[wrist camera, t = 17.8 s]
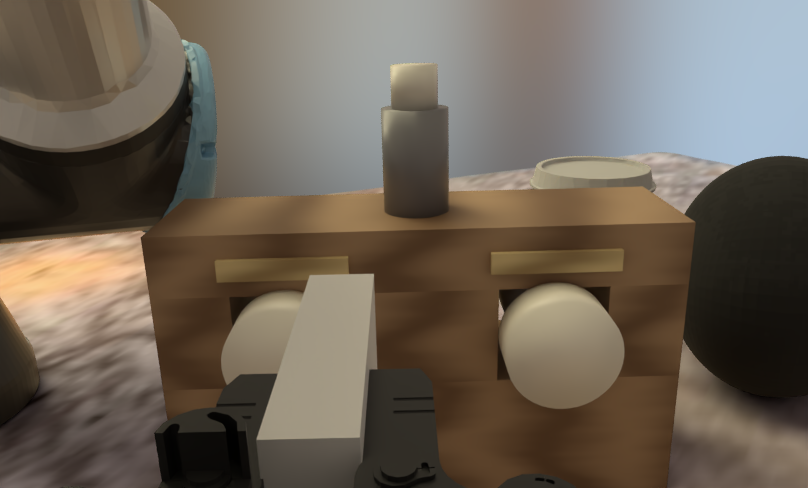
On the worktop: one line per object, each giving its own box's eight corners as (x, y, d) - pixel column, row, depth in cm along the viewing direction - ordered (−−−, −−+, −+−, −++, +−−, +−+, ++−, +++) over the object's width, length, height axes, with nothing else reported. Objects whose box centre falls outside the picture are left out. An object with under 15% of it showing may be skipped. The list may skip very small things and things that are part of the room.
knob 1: (227, 418, 31) (214, 312, 30) (279, 291, 46) (273, 214, 44) (343, 415, 31) (337, 309, 30) (358, 288, 46) (354, 212, 44)
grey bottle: (384, 219, 33) (379, 68, 31) (384, 202, 36) (380, 63, 34) (451, 217, 33) (450, 66, 31) (446, 200, 36) (445, 61, 34)
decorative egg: (810, 466, 37) (860, 194, 33) (619, 377, 47) (637, 157, 42) (905, 393, 44) (957, 158, 40) (721, 328, 54) (746, 133, 49)
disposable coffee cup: (602, 345, 52) (613, 186, 48) (502, 309, 58) (505, 167, 54) (666, 309, 58) (681, 165, 54) (568, 279, 64) (576, 150, 61)
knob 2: (505, 410, 32) (507, 304, 30) (469, 285, 46) (469, 209, 45) (620, 406, 32) (628, 300, 30) (547, 283, 46) (551, 207, 45)
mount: (178, 506, 36) (138, 239, 31) (213, 426, 42) (184, 198, 38) (668, 491, 36) (698, 223, 31) (623, 414, 43) (642, 186, 38)
